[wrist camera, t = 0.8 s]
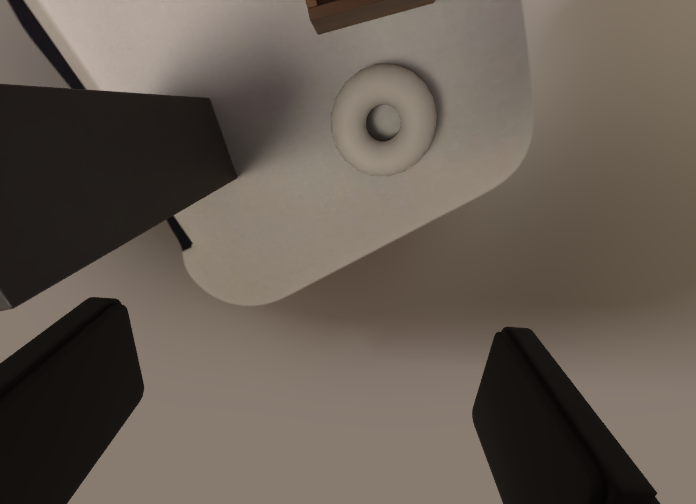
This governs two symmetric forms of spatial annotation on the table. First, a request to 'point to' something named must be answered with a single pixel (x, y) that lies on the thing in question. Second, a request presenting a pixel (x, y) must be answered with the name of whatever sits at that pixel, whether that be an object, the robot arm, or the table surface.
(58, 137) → the stand
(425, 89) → the donut
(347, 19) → the crate
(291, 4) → the table surface
